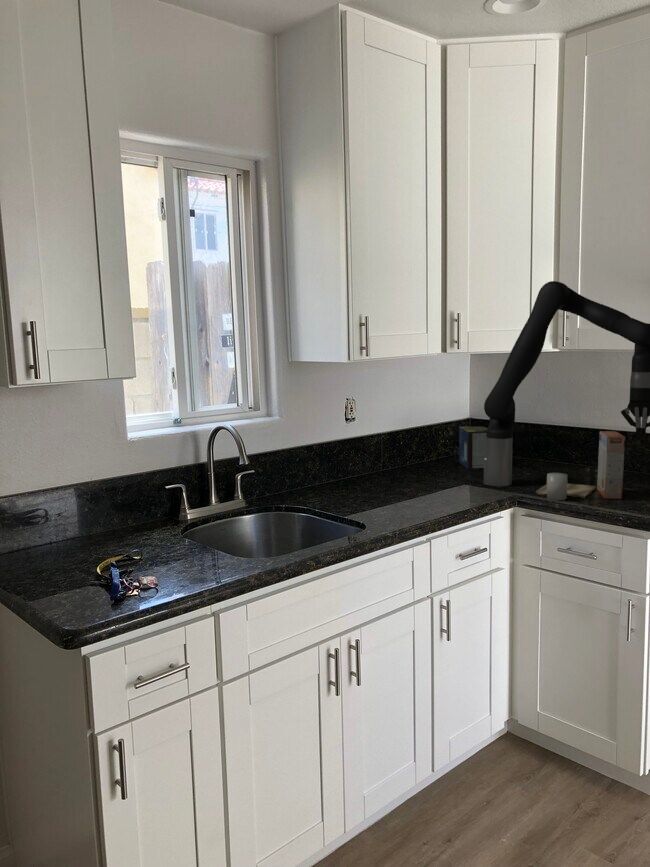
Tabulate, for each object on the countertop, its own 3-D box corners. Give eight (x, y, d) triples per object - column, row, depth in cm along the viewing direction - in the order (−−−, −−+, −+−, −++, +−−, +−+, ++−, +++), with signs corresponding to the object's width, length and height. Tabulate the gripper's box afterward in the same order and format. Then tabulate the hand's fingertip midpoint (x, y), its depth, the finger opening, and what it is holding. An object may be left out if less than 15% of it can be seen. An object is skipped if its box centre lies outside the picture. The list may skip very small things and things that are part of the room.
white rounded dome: (544, 499, 236) (544, 475, 235) (549, 495, 242) (549, 472, 241) (564, 501, 233) (564, 477, 232) (568, 497, 238) (569, 473, 237)
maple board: (535, 493, 245) (535, 491, 245) (549, 484, 260) (549, 481, 260) (584, 498, 236) (584, 496, 236) (596, 488, 252) (596, 486, 251)
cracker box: (623, 500, 234) (625, 436, 231) (603, 499, 235) (606, 435, 232) (615, 490, 247) (617, 430, 244) (596, 490, 248) (598, 430, 246)
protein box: (482, 462, 308) (483, 426, 305) (492, 468, 292) (493, 430, 290) (458, 462, 307) (458, 426, 305) (467, 469, 292) (467, 431, 290)
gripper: (618, 386, 232) (616, 439, 234) (663, 387, 225) (661, 442, 227) (622, 384, 238) (621, 436, 240) (666, 385, 231) (664, 439, 233)
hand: (640, 439), depth 234 cm, fingers closed
